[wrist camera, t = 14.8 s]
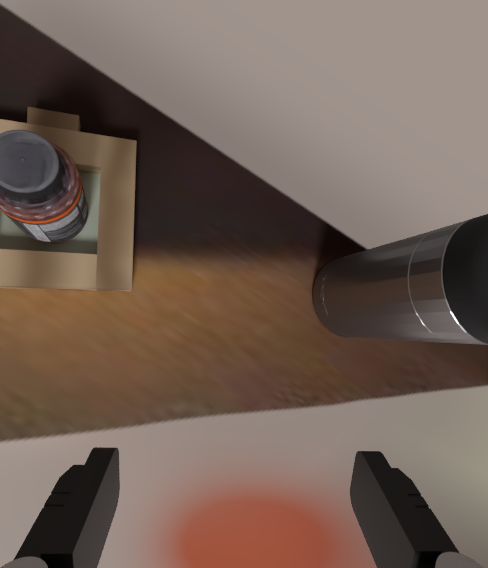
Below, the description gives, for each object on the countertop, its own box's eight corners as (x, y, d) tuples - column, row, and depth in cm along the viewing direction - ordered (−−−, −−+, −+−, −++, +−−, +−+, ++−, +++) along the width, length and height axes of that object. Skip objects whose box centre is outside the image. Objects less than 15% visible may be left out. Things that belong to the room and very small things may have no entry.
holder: (135, 135, 36) (137, 125, 34) (130, 291, 34) (131, 289, 32) (-33, 108, 31) (-43, 94, 29) (-49, 286, 30) (-60, 284, 28)
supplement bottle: (4, 188, 31) (-54, 119, 21) (76, 173, 33) (57, 103, 23) (28, 253, 31) (-17, 218, 21) (98, 234, 33) (89, 193, 23)
